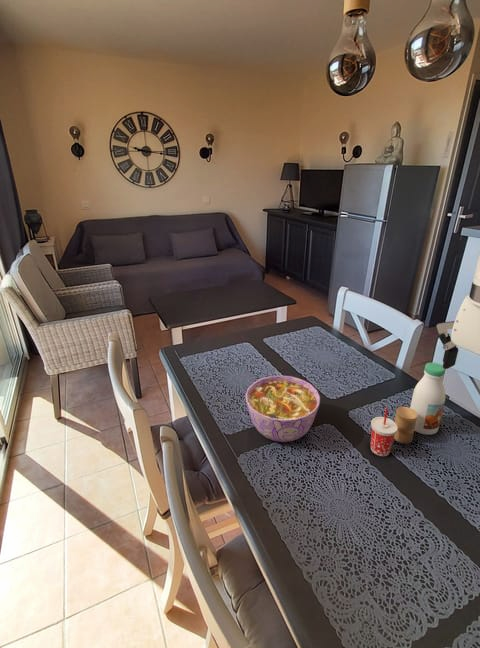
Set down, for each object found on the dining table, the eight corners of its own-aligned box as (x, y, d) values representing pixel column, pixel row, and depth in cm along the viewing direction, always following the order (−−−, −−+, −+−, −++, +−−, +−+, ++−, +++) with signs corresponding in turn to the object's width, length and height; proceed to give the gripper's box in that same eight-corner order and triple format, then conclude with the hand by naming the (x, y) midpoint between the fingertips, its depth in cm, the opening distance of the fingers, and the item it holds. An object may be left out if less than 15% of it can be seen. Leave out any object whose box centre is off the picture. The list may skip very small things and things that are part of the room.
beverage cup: (397, 456, 91) (406, 411, 86) (379, 465, 89) (387, 419, 83) (379, 441, 96) (386, 397, 91) (362, 448, 94) (368, 405, 89)
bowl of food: (292, 469, 89) (293, 432, 84) (231, 433, 101) (230, 399, 96) (330, 426, 102) (333, 392, 98) (273, 399, 115) (274, 367, 110)
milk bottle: (409, 435, 98) (422, 373, 90) (404, 417, 105) (416, 357, 97) (440, 439, 96) (456, 376, 88) (433, 420, 103) (447, 360, 95)
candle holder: (410, 431, 99) (415, 405, 96) (418, 449, 93) (424, 421, 90) (386, 430, 100) (390, 404, 96) (392, 447, 94) (397, 420, 90)
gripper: (565, 305, 58) (534, 394, 65) (458, 278, 71) (441, 354, 78) (543, 316, 54) (512, 408, 61) (435, 285, 68) (420, 364, 75)
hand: (472, 377), depth 70 cm, fingers open, 9 cm apart
